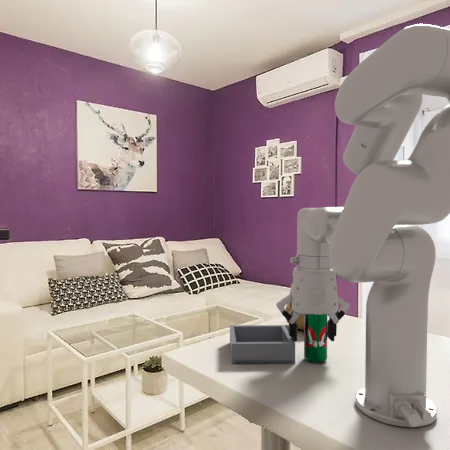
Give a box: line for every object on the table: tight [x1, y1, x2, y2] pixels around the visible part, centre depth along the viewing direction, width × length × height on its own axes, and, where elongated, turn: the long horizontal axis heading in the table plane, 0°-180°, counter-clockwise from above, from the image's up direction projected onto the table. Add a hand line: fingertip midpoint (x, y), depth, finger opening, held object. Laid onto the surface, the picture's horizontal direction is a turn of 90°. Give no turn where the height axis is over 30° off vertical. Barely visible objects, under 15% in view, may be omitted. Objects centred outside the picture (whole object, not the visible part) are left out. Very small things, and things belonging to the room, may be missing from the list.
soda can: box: [303, 313, 328, 364], centre depth 88 cm, size 5×5×12 cm
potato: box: [285, 303, 304, 331], centre depth 112 cm, size 10×14×8 cm
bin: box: [229, 324, 296, 365], centre depth 93 cm, size 14×14×4 cm
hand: (312, 338), depth 89 cm, fingers open, 7 cm apart
